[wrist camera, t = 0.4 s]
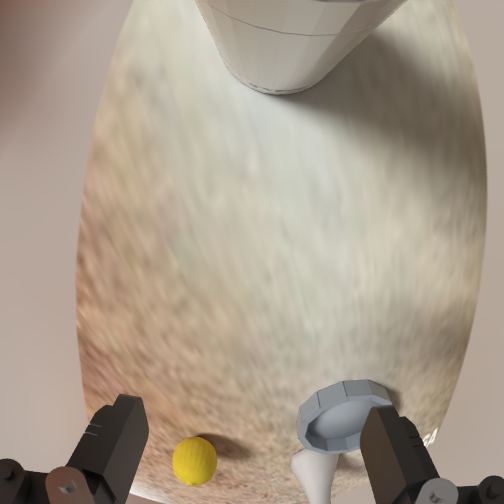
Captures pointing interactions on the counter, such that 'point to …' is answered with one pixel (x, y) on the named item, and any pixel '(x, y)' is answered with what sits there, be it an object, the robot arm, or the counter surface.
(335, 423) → the dish
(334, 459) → the flask
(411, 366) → the counter surface
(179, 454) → the lemon
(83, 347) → the counter surface
